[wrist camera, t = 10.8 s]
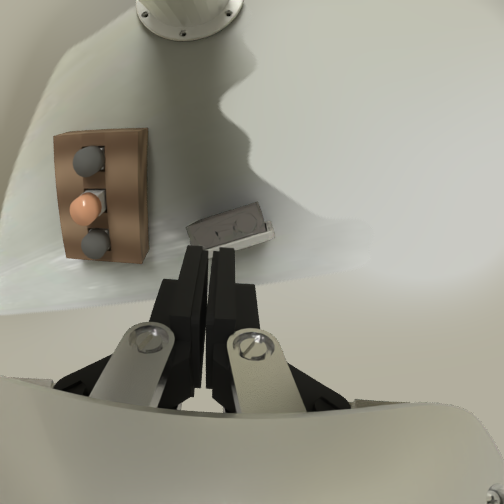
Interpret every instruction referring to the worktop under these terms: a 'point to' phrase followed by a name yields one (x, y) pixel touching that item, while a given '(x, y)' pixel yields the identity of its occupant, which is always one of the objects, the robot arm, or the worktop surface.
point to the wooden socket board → (117, 191)
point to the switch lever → (89, 160)
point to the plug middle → (88, 206)
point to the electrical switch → (231, 229)
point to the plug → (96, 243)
